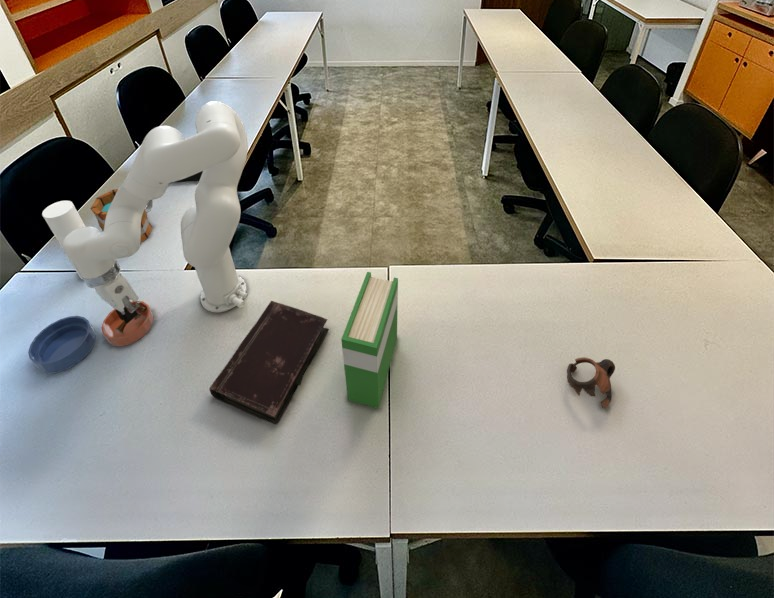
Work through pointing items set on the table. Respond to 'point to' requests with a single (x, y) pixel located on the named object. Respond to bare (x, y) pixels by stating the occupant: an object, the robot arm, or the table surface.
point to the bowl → (62, 344)
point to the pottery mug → (600, 378)
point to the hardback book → (370, 340)
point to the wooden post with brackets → (136, 305)
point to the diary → (271, 362)
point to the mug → (103, 205)
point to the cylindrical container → (62, 220)
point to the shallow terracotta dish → (127, 326)
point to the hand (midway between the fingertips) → (129, 317)
